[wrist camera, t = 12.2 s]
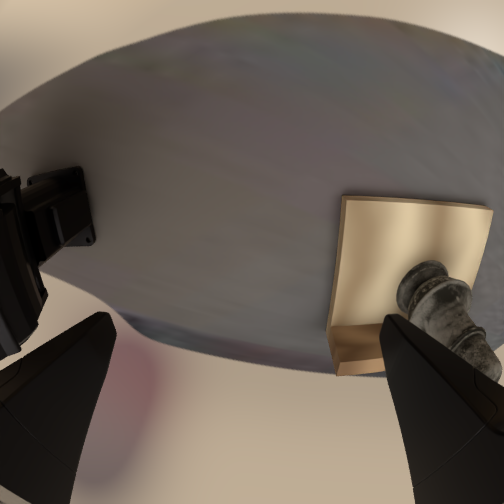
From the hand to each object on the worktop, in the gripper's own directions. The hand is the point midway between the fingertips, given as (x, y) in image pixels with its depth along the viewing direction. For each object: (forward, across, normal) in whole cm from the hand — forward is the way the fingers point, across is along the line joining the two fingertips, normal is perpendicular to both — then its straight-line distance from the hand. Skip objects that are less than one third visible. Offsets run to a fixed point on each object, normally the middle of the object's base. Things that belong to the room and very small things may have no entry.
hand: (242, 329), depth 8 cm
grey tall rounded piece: (+11, -14, +6) cm, 19 cm away
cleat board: (+12, -13, +5) cm, 18 cm away
